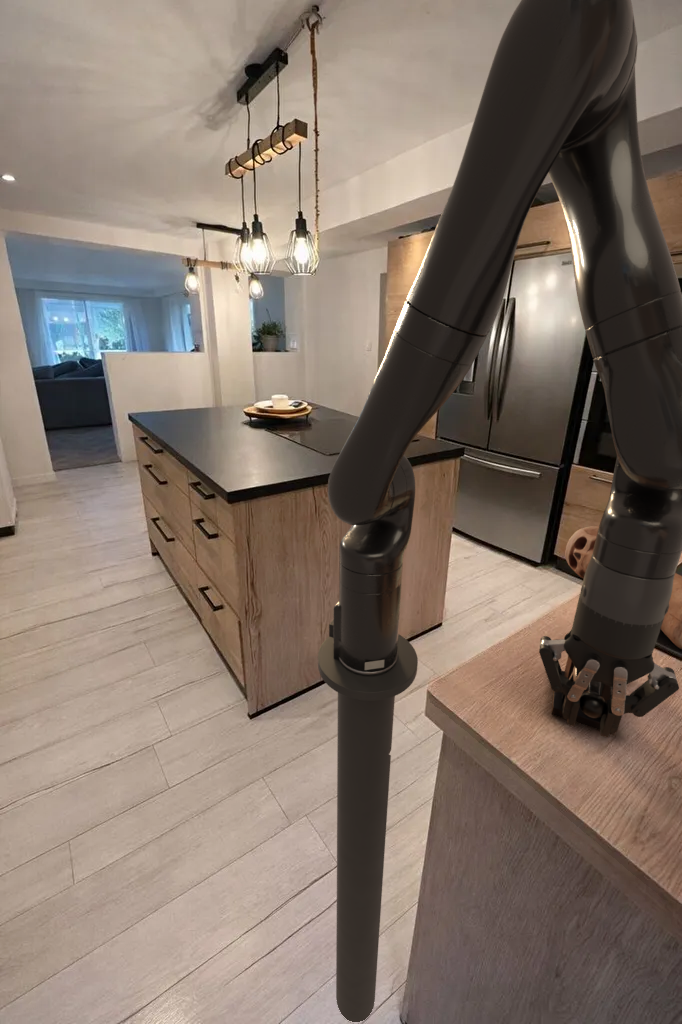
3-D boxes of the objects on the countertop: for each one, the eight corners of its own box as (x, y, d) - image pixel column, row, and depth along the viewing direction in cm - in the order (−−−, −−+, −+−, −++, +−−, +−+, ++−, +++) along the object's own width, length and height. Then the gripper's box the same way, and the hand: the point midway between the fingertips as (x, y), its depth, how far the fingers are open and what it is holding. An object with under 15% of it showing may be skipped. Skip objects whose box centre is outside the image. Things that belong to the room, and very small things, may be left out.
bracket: (614, 735, 54) (638, 656, 49) (551, 714, 56) (569, 638, 52) (609, 691, 60) (630, 619, 56) (553, 675, 63) (569, 605, 59)
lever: (602, 724, 50) (608, 718, 48) (575, 715, 51) (579, 709, 49) (608, 638, 56) (614, 629, 54) (584, 631, 57) (588, 622, 55)
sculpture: (643, 649, 66) (545, 559, 94) (726, 657, 68) (605, 565, 96) (670, 593, 63) (560, 516, 91) (757, 602, 65) (622, 524, 93)
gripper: (696, 599, 46) (652, 724, 52) (549, 569, 51) (525, 685, 58) (716, 640, 39) (663, 776, 46) (545, 601, 45) (520, 727, 51)
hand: (586, 725), depth 52 cm, fingers closed on lever, 3 cm apart
